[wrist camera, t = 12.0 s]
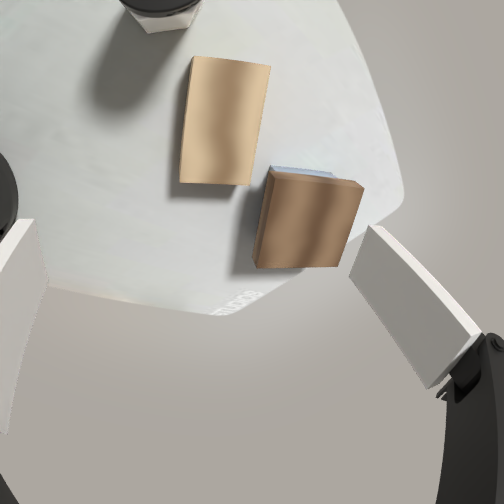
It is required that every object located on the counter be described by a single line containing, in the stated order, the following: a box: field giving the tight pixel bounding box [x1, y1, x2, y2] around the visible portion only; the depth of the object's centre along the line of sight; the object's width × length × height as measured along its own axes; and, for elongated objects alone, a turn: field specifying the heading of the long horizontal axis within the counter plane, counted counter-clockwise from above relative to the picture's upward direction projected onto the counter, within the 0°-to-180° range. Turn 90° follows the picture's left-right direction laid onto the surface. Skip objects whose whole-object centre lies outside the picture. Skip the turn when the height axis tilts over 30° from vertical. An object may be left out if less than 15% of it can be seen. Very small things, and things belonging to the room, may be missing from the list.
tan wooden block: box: [179, 56, 271, 186], centre depth 31 cm, size 8×14×4 cm, turn 170°
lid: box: [252, 171, 365, 268], centre depth 38 cm, size 12×12×2 cm
